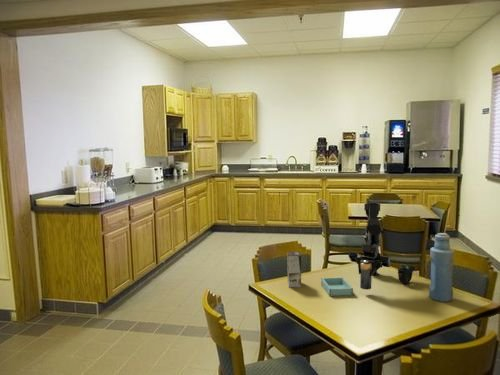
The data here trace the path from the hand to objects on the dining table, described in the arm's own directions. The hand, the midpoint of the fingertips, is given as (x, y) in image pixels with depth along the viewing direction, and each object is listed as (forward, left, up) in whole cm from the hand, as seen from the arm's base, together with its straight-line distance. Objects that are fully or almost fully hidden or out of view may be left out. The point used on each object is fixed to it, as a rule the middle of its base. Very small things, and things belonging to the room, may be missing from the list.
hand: (365, 274), depth 185 cm
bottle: (+7, +33, -10) cm, 35 cm away
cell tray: (-8, -11, -10) cm, 17 cm away
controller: (-15, +27, -10) cm, 32 cm away
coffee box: (-18, -30, -10) cm, 37 cm away
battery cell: (-1, +1, -7) cm, 7 cm away
